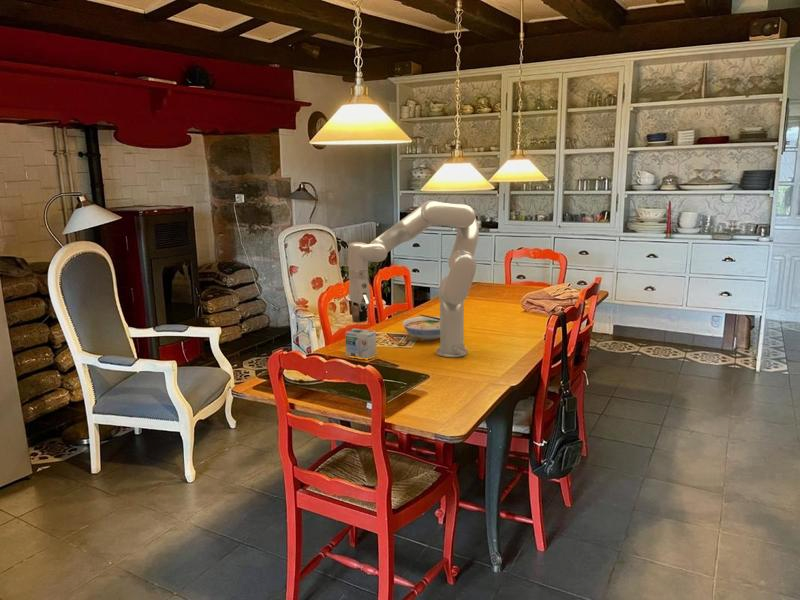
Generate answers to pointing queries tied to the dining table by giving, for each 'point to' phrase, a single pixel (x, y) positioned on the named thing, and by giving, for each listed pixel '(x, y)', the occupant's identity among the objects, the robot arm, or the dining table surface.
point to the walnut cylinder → (356, 314)
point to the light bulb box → (360, 343)
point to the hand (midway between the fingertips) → (359, 318)
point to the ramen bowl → (423, 327)
